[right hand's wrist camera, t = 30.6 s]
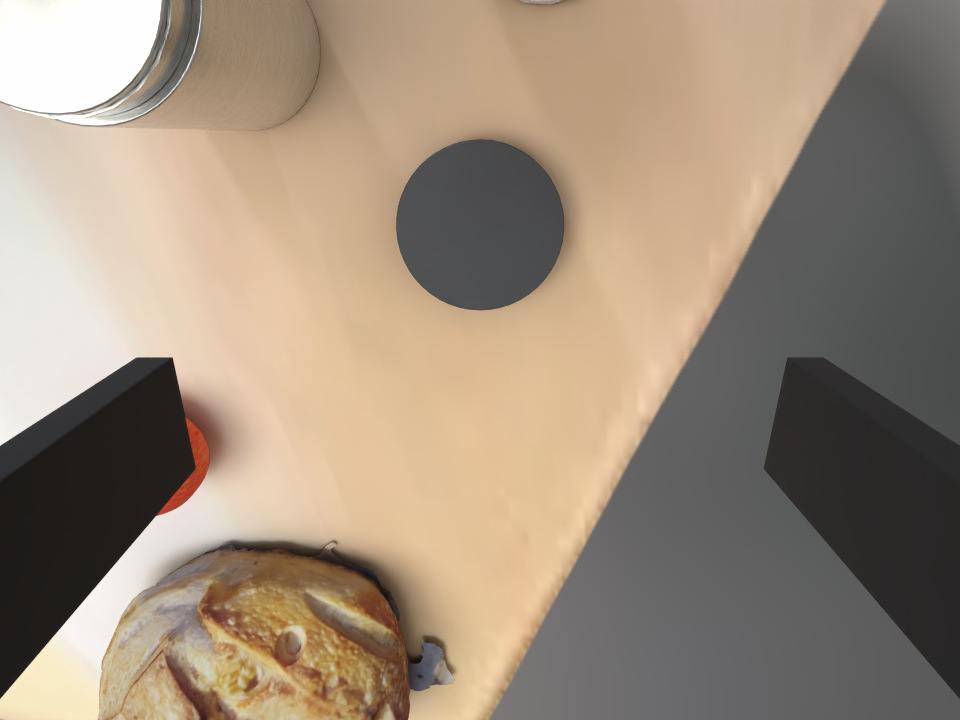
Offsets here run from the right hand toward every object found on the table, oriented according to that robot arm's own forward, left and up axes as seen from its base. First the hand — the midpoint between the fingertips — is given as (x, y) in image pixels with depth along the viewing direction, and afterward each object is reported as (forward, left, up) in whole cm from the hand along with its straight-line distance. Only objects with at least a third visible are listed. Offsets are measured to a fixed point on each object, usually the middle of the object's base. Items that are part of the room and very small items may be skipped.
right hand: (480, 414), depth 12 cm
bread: (+7, +42, -29) cm, 51 cm away
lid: (0, 0, -27) cm, 27 cm away
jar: (+17, -6, -29) cm, 34 cm away
